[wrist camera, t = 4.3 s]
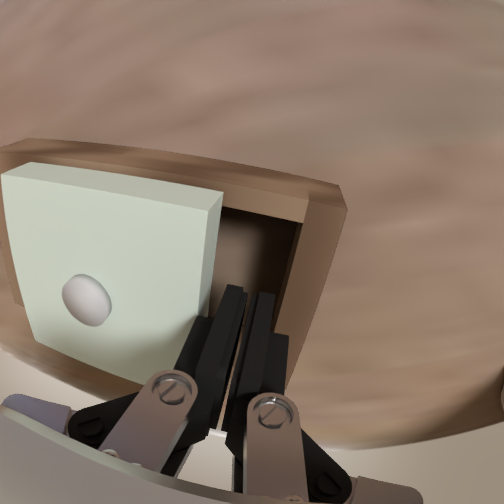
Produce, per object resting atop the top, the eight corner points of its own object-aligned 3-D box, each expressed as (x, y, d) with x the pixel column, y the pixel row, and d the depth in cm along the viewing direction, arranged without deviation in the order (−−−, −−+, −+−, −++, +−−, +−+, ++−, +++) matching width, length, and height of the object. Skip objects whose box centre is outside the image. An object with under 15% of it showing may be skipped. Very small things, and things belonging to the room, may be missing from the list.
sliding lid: (223, 192, 10) (202, 217, 8) (202, 370, 14) (188, 408, 12) (30, 162, 11) (-9, 178, 9) (53, 319, 15) (30, 346, 13)
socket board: (338, 185, 13) (347, 209, 10) (290, 347, 17) (285, 389, 14) (28, 138, 14) (-11, 151, 11) (42, 277, 18) (15, 302, 15)
